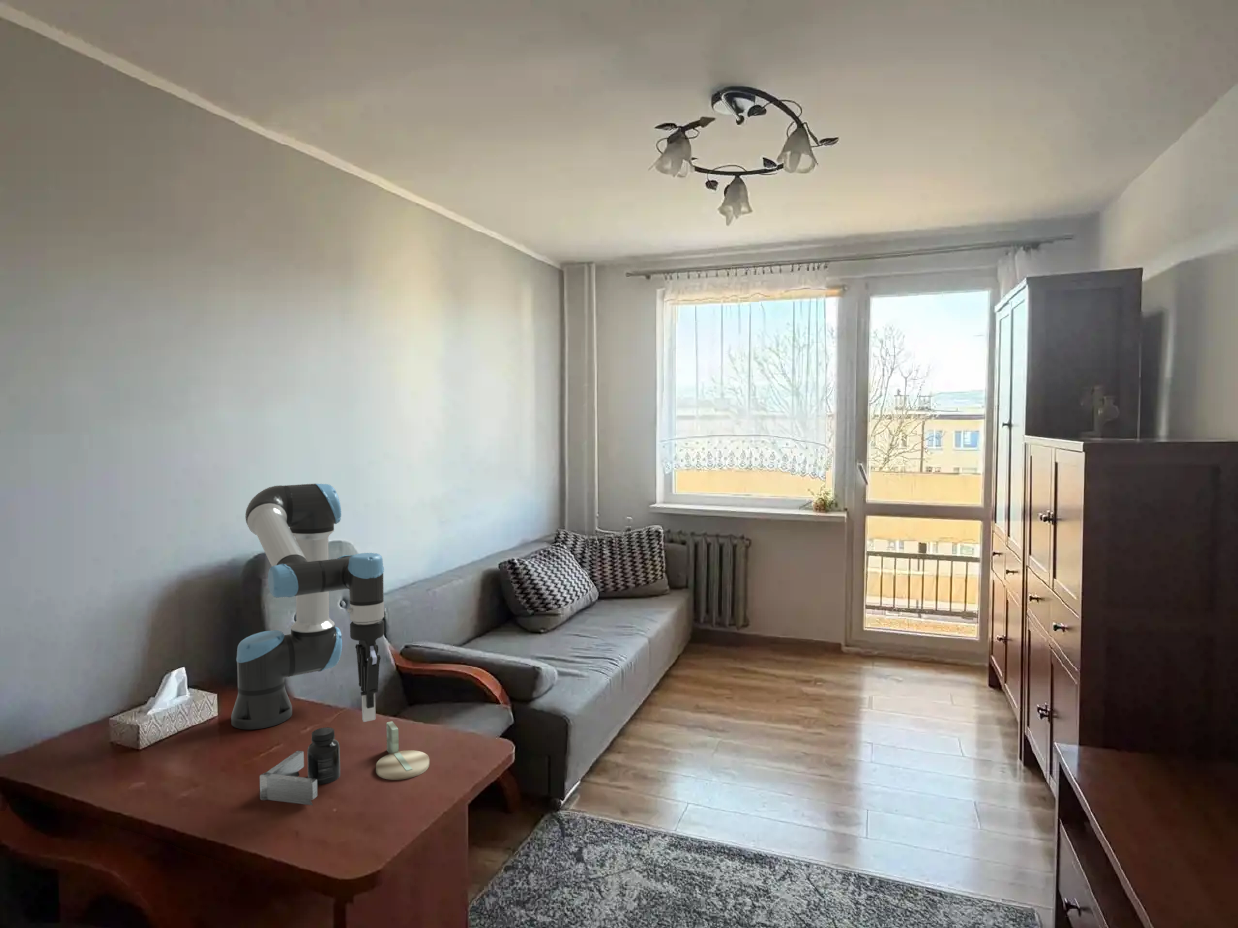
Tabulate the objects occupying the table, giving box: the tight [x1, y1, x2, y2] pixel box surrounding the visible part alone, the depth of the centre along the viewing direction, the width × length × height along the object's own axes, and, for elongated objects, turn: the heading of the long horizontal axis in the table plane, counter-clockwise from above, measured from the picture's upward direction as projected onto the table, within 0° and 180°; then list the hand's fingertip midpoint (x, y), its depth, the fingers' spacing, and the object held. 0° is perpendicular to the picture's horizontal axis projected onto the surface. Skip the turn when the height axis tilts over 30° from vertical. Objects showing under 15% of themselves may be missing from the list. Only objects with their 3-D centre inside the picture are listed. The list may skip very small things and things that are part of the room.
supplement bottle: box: [306, 726, 341, 786], centre depth 164 cm, size 7×7×12 cm
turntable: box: [375, 720, 430, 781], centre depth 171 cm, size 17×12×7 cm
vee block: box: [259, 750, 318, 806], centre depth 160 cm, size 18×10×5 cm, turn 33°
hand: (368, 719), depth 169 cm, fingers closed
